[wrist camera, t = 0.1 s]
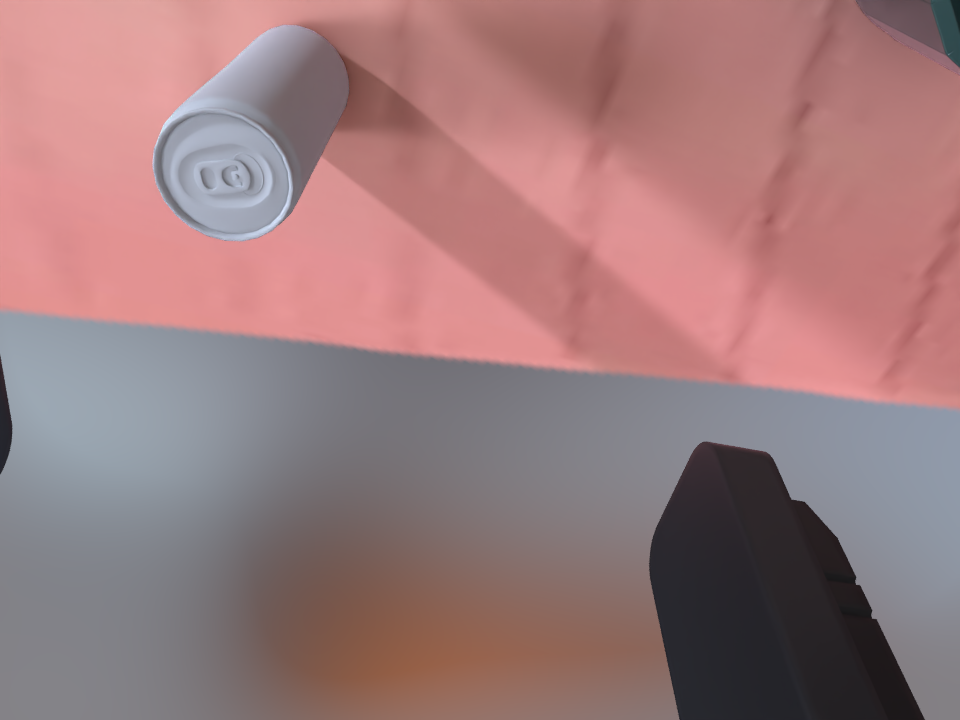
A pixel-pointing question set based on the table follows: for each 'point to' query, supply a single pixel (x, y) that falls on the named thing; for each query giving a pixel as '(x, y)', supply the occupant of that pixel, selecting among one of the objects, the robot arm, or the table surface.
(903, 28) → the cup
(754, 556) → the robot arm
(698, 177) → the table surface
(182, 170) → the beverage can
